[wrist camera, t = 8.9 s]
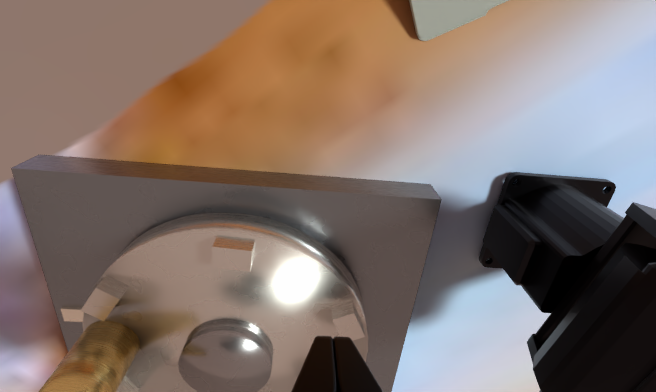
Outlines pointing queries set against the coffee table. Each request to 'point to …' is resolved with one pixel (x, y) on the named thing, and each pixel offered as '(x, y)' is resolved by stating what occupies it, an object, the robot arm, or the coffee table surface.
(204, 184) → the base plate
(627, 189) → the coffee table surface
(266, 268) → the silver round platform
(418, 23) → the metal bracket
